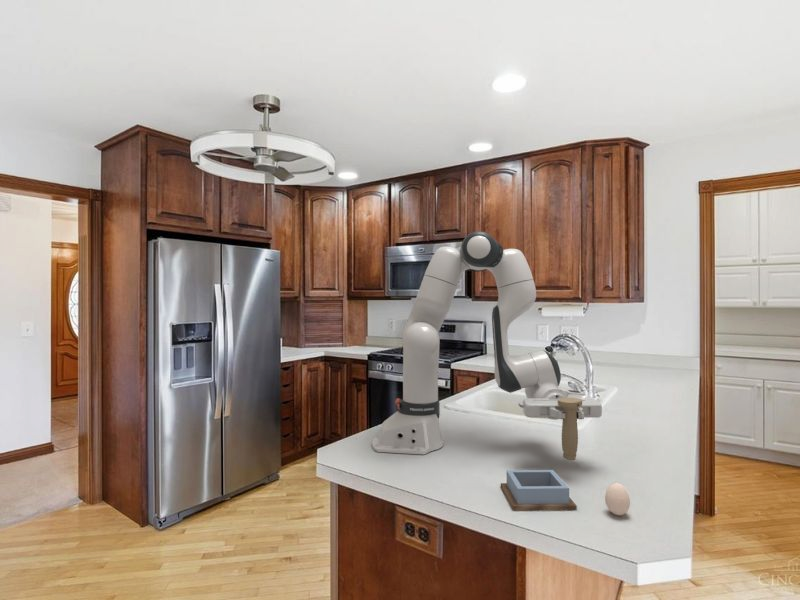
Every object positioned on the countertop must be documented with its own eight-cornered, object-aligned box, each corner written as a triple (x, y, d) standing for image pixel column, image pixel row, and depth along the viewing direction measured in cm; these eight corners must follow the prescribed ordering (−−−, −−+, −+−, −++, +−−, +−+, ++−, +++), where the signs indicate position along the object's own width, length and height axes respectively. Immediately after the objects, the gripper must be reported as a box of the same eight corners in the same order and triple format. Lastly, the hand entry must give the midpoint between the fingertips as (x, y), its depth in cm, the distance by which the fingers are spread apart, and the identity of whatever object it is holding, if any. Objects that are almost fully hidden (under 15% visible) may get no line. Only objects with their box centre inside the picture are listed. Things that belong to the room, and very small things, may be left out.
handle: (553, 457, 116) (553, 399, 116) (569, 453, 119) (570, 396, 119) (569, 463, 112) (569, 403, 112) (585, 458, 115) (586, 400, 115)
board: (512, 510, 99) (512, 506, 99) (500, 487, 111) (500, 483, 111) (576, 510, 99) (576, 505, 99) (557, 486, 111) (557, 482, 111)
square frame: (517, 504, 100) (517, 488, 100) (506, 484, 110) (506, 470, 110) (569, 504, 100) (569, 488, 100) (553, 484, 110) (553, 469, 110)
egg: (608, 506, 101) (608, 477, 100) (632, 513, 98) (632, 482, 97) (602, 515, 97) (602, 484, 97) (626, 522, 94) (626, 490, 94)
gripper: (516, 391, 128) (530, 403, 114) (588, 391, 128) (611, 403, 114) (516, 413, 128) (530, 428, 114) (588, 413, 128) (611, 428, 114)
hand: (571, 416), depth 114 cm, fingers closed on handle, 3 cm apart
